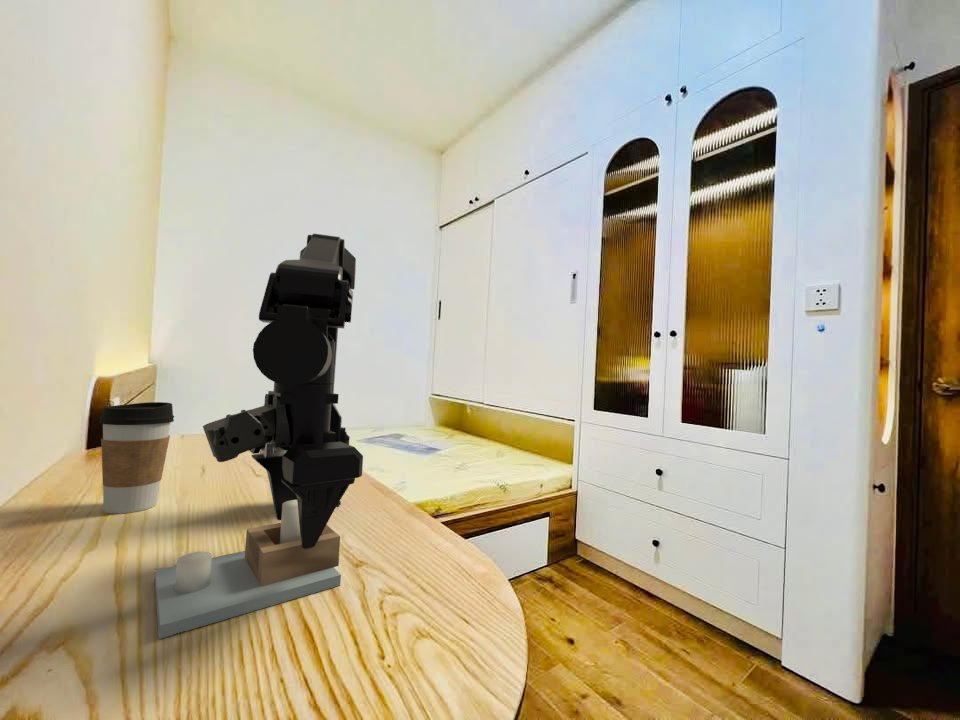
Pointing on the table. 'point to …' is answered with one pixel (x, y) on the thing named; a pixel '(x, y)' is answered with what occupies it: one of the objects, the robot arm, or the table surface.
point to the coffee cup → (134, 454)
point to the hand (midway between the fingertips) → (294, 532)
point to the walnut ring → (288, 554)
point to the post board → (228, 585)
